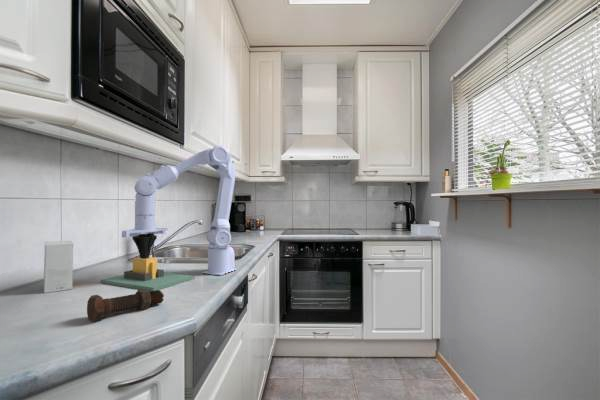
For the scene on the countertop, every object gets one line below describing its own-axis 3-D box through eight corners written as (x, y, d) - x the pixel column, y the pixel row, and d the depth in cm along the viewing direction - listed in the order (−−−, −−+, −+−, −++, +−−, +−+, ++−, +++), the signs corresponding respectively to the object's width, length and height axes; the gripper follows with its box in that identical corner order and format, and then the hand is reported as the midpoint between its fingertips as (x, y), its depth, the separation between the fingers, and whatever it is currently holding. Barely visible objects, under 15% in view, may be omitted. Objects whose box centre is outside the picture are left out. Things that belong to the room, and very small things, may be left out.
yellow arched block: (143, 274, 103) (143, 256, 104) (159, 277, 101) (159, 258, 101) (132, 277, 100) (132, 258, 100) (148, 279, 97) (148, 260, 97)
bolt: (162, 312, 77) (91, 329, 65) (154, 298, 80) (84, 311, 68) (169, 293, 75) (97, 307, 64) (160, 280, 78) (90, 290, 66)
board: (145, 272, 111) (145, 264, 111) (194, 278, 103) (194, 269, 103) (100, 283, 97) (100, 273, 97) (153, 291, 88) (153, 280, 88)
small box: (72, 289, 89) (73, 243, 90) (43, 293, 85) (44, 244, 86) (70, 283, 96) (71, 240, 96) (43, 287, 92) (44, 242, 92)
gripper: (154, 214, 109) (153, 254, 109) (115, 215, 96) (114, 261, 95) (170, 214, 106) (169, 255, 106) (131, 216, 93) (130, 262, 93)
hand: (144, 258), depth 101 cm, fingers closed, pressing on yellow arched block
